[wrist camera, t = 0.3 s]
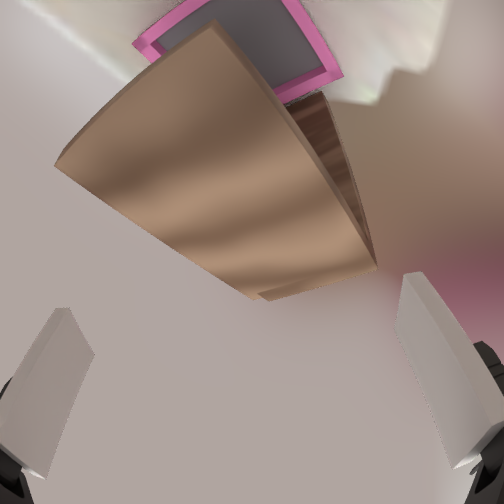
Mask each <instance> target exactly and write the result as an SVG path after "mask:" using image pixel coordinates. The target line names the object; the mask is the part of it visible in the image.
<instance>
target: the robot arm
mask: <svg viewBox="0 0 504 504" xmlns="http://www.w3.org/2000/svg"><path fill="white" fill-rule="evenodd" d="M394 331H395V333H396V335H397V337H398V339H399V341H400V343H401V345H402V347H403V350H404V352H405V354H406V356H407V358H408V361H409V363H410V365H411V367H412V369H413V372H414V374H415V376H416V378H417V380H418V383H419V385H420V388H421V390H422V392H423V395H424V397H425V400H426V402H427V404H428V407H429V409H430V412H431V414H432V417H433V419H434V422H435V424H436V427H437V430H438V432H439V435H440V437H441V440H442V443H443V445H444V448H445V451H446V454H447V457H448V460H449V463H450V465H451V468H452V470H453V469H455V468H457V467H460V466H462V465H465V464H467V463H469V462H471V461H473V460H474V459H475V458H476V457H477V456H478V455H479V453H480V454H481V457H482V460H481V461H480V462H479V463H478V464H477V465H476V466H475V467H474V468H473V469H472V471H471V472H470V475H472V474H474V473H475V472H476V471H477V473H476V476H475V479H474V481H473V484H472V486H471V489H470V491H469V494H468V497H467V499H466V501H465V503H464V504H504V366H503V364H501V361H500V359H499V358H498V356H497V355H496V353H495V352H494V350H493V349H492V348H490V347H489V346H488V345H487V344H485V343H484V342H483V341H480V342H477V343H474V344H472V342H471V341H470V339H469V338H468V336H467V335H466V333H465V332H464V330H463V329H462V327H461V326H460V324H459V323H458V321H457V320H456V318H455V317H454V315H453V314H452V312H451V311H450V310H449V308H448V307H447V305H446V304H445V303H444V301H443V300H442V298H441V297H440V296H439V294H438V293H437V291H436V290H435V289H434V287H433V286H432V285H431V283H430V282H429V281H428V279H427V278H426V277H425V275H424V274H423V273H422V272H415V273H409V274H404V277H403V283H402V289H401V295H400V301H399V306H398V312H397V317H396V322H395V327H394ZM94 355H95V354H94V352H93V351H92V349H91V347H90V346H89V344H88V342H87V340H86V339H85V337H84V335H83V333H82V331H81V330H80V328H79V326H78V324H77V322H76V320H75V318H74V317H73V315H72V313H71V311H70V309H69V308H56V309H55V310H54V312H53V313H52V315H51V316H50V318H49V319H48V321H47V322H46V324H45V325H44V327H43V329H42V330H41V331H40V333H39V334H38V336H37V338H36V339H35V341H34V342H33V344H32V346H31V347H30V349H29V350H28V352H27V354H26V355H25V357H24V359H23V361H22V362H21V364H20V366H19V367H18V369H17V370H16V372H15V374H14V376H13V377H12V378H11V379H10V380H9V381H8V382H7V383H6V384H5V385H4V387H3V389H2V391H1V393H0V504H34V502H33V500H32V497H31V494H30V490H29V487H28V484H27V481H26V478H25V475H24V474H23V473H22V472H21V469H22V467H23V468H24V469H26V470H27V471H28V472H30V473H31V474H32V475H35V476H38V477H41V478H43V479H46V478H47V475H48V472H49V469H50V466H51V463H52V460H53V457H54V454H55V452H56V449H57V446H58V443H59V440H60V438H61V435H62V432H63V430H64V427H65V424H66V422H67V419H68V417H69V414H70V411H71V409H72V406H73V404H74V401H75V399H76V397H77V394H78V392H79V389H80V387H81V385H82V382H83V380H84V378H85V375H86V373H87V371H88V369H89V366H90V364H91V362H92V360H93V357H94Z"/></svg>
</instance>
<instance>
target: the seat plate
mask: <svg viewBox="0 0 504 504" xmlns="http://www.w3.org/2000/svg"><path fill="white" fill-rule="evenodd" d="M214 18H215V19H216V20H217V21H218V23H219V24H220V25H221V26H222V27H223V28H224V30H225V31H226V32H227V33H228V34H229V35H230V37H231V38H232V39H233V40H234V41H235V43H236V44H237V45H238V46H239V48H240V49H241V50H242V51H243V52H244V54H245V55H246V56H247V57H248V59H249V60H250V61H251V63H252V64H253V65H254V66H255V68H256V69H257V70H258V72H259V73H260V74H261V75H262V77H263V78H264V79H265V81H266V82H267V83H268V85H269V86H270V87H271V89H272V90H273V91H274V93H275V94H276V96H277V97H278V98H279V100H280V101H281V102H282V104H285V103H287V102H289V101H291V100H293V99H295V98H297V97H299V96H301V95H304V94H306V93H308V92H310V91H312V90H314V89H317V88H319V87H321V86H323V85H326V84H328V83H330V82H332V81H335V80H337V79H339V78H342V77H344V75H343V73H342V71H341V70H340V68H339V66H338V64H337V62H336V60H335V59H334V57H333V55H332V53H331V52H330V50H329V48H328V46H327V45H326V43H325V41H324V40H323V38H322V36H321V35H320V33H319V31H318V30H317V28H316V26H315V25H314V23H313V22H312V20H311V19H310V17H309V15H308V14H307V12H306V11H305V9H304V8H303V6H302V5H301V3H300V2H299V0H185V1H183V2H182V3H181V4H179V5H178V6H177V7H175V8H174V9H173V10H171V11H170V12H169V13H167V14H166V15H165V16H163V17H162V18H161V19H159V20H158V21H157V22H156V23H154V24H153V25H152V26H151V27H150V28H148V29H147V30H146V31H145V32H144V33H142V34H141V35H140V36H139V37H138V38H137V39H136V40H135V41H134V42H133V43H132V45H133V46H134V47H135V48H136V49H137V50H138V51H139V52H140V53H142V54H143V55H144V56H145V57H146V58H147V59H148V60H149V61H150V62H151V63H153V62H154V61H156V60H157V59H158V58H159V57H161V56H162V55H163V54H164V53H166V52H167V51H168V50H170V49H171V48H172V47H174V46H175V45H176V44H178V43H179V42H181V41H182V40H183V39H185V38H186V37H187V36H189V35H190V34H192V33H193V32H195V31H196V30H198V29H199V28H201V27H202V26H203V25H205V24H207V23H208V22H210V21H211V20H213V19H214Z"/></svg>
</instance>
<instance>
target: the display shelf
mask: <svg viewBox="0 0 504 504" xmlns="http://www.w3.org/2000/svg"><path fill="white" fill-rule="evenodd" d="M54 166H55V167H56V168H57V169H59V170H60V171H61V172H63V173H64V174H66V175H67V176H68V177H70V178H71V179H73V180H74V181H75V182H77V183H78V184H79V185H81V186H82V187H84V188H85V189H87V190H88V191H89V192H91V193H92V194H93V195H95V196H96V197H98V198H99V199H101V200H102V201H104V202H105V203H106V204H108V205H109V206H111V207H112V208H113V209H115V210H116V211H118V212H119V213H121V214H122V215H124V216H125V217H127V218H128V219H129V220H131V221H133V222H134V223H135V224H137V225H138V226H140V227H141V228H143V229H144V230H146V231H147V232H149V233H150V234H151V235H153V236H155V237H156V238H157V239H159V240H160V241H162V242H164V243H165V244H166V245H168V246H170V247H171V248H172V249H174V250H176V251H177V252H179V253H180V254H182V255H183V256H185V257H186V258H188V259H189V260H191V261H192V262H194V263H195V264H197V265H199V266H200V267H202V268H203V269H205V270H206V271H208V272H209V273H211V274H212V275H214V276H215V277H217V278H219V279H220V280H222V281H224V282H225V283H227V284H228V285H230V286H231V287H233V288H234V289H236V290H238V291H239V292H241V293H242V294H244V295H246V296H247V297H249V298H250V299H252V300H256V299H259V298H264V299H266V300H267V301H272V300H276V299H280V298H283V297H287V296H291V295H294V294H297V293H301V292H305V291H308V290H311V289H315V288H319V287H322V286H325V285H329V284H332V283H336V282H339V281H342V280H345V279H349V278H352V277H356V276H359V275H362V274H365V273H369V272H371V271H375V270H378V266H377V261H376V257H375V253H374V248H373V244H372V240H371V236H370V232H369V228H368V225H367V221H366V217H365V213H364V210H363V206H362V203H361V199H360V196H359V192H358V189H357V185H356V182H355V179H354V176H353V172H352V169H351V166H350V163H349V160H348V157H347V154H346V151H345V148H344V145H343V142H342V139H341V136H340V133H339V131H338V128H337V125H336V122H335V119H334V117H333V114H332V111H331V109H330V106H329V104H328V101H327V100H326V98H325V96H324V95H323V93H322V91H320V92H318V93H316V94H314V95H312V96H309V97H307V98H305V99H303V100H301V101H299V102H297V103H294V104H292V105H290V106H288V107H286V108H285V107H284V105H283V104H282V102H281V101H280V100H279V98H278V97H277V96H276V94H275V93H274V91H273V90H272V89H271V87H270V86H269V85H268V83H267V82H266V81H265V79H264V78H263V77H262V75H261V74H260V73H259V72H258V70H257V69H256V68H255V66H254V65H253V64H252V63H251V61H250V60H249V59H248V57H247V56H246V55H245V54H244V52H243V51H242V50H241V49H240V48H239V46H238V45H237V44H236V43H235V41H234V40H233V39H232V38H231V37H230V35H229V34H228V33H227V32H226V31H225V30H224V28H223V27H222V26H221V25H220V24H219V23H218V21H217V20H216V19H215V18H214V19H213V20H211V21H210V22H208V23H207V24H205V25H203V26H202V27H201V28H199V29H198V30H196V31H195V32H193V33H192V34H190V35H189V36H187V37H186V38H185V39H183V40H182V41H181V42H179V43H178V44H176V45H175V46H174V47H172V48H171V49H170V50H168V51H167V52H166V53H164V54H163V55H162V56H161V57H159V58H158V59H157V60H156V61H154V62H153V63H152V64H151V65H149V66H148V67H147V68H146V69H145V70H143V71H142V72H141V73H140V74H139V75H137V76H136V77H135V78H134V79H133V80H132V81H131V82H129V83H128V84H127V85H126V86H125V87H124V88H123V89H122V90H120V91H119V92H118V93H117V94H116V95H115V96H114V97H113V98H112V99H111V100H110V101H109V102H108V103H107V104H106V105H105V106H104V107H102V108H101V109H100V110H99V112H97V113H96V114H95V115H94V117H92V118H91V119H90V121H89V122H88V123H87V124H86V125H85V126H84V127H83V128H82V129H81V130H80V131H79V132H78V133H77V134H76V135H75V136H74V138H73V139H72V140H71V141H70V142H69V143H68V144H67V145H66V147H65V148H64V149H63V151H62V153H61V154H60V156H59V158H58V159H57V161H56V163H55V165H54Z"/></svg>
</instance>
